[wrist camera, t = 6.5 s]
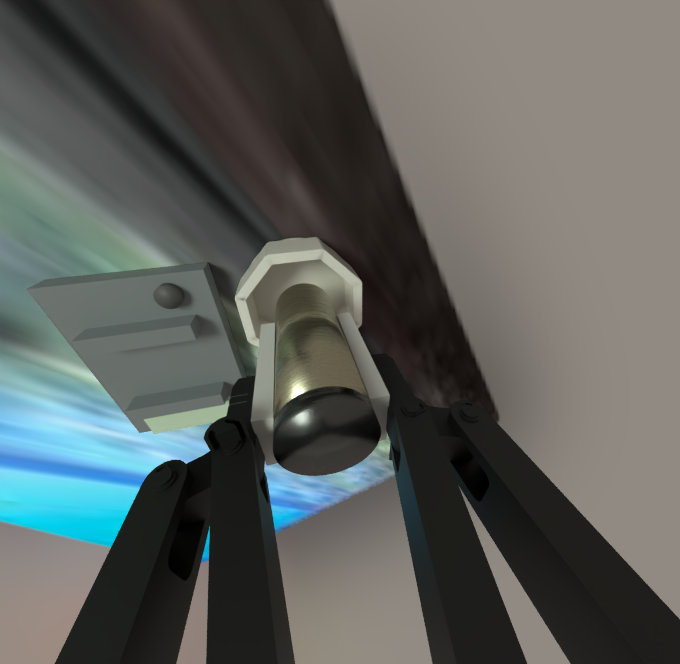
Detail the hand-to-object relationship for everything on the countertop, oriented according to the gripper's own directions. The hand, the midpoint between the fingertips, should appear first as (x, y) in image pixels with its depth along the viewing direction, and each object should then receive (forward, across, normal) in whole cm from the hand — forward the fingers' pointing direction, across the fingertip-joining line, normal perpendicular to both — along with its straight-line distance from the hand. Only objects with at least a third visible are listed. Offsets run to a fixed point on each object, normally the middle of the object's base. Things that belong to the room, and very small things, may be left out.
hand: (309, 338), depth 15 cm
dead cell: (+2, 0, +1) cm, 3 cm away
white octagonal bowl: (+7, 0, 0) cm, 7 cm away
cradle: (+7, -11, -4) cm, 13 cm away
